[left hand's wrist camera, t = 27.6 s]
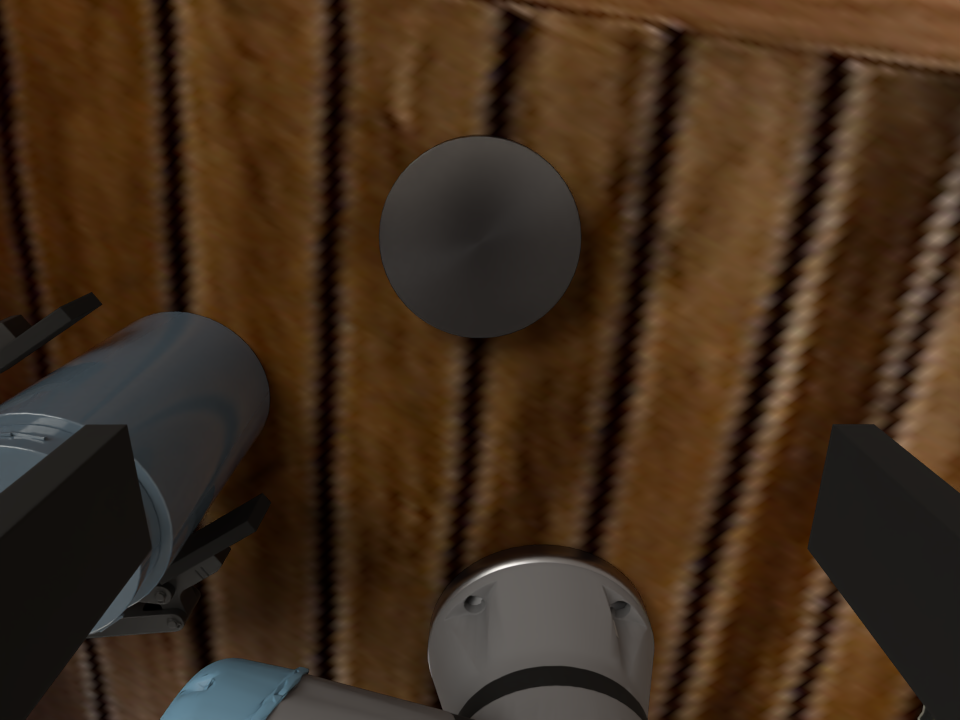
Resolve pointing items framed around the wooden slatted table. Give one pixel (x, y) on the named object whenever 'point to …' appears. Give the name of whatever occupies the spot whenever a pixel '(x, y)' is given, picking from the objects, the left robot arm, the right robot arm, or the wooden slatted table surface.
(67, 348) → the wooden slatted table surface
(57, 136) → the wooden slatted table surface
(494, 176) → the lid
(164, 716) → the left robot arm
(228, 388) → the jar
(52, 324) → the right robot arm
